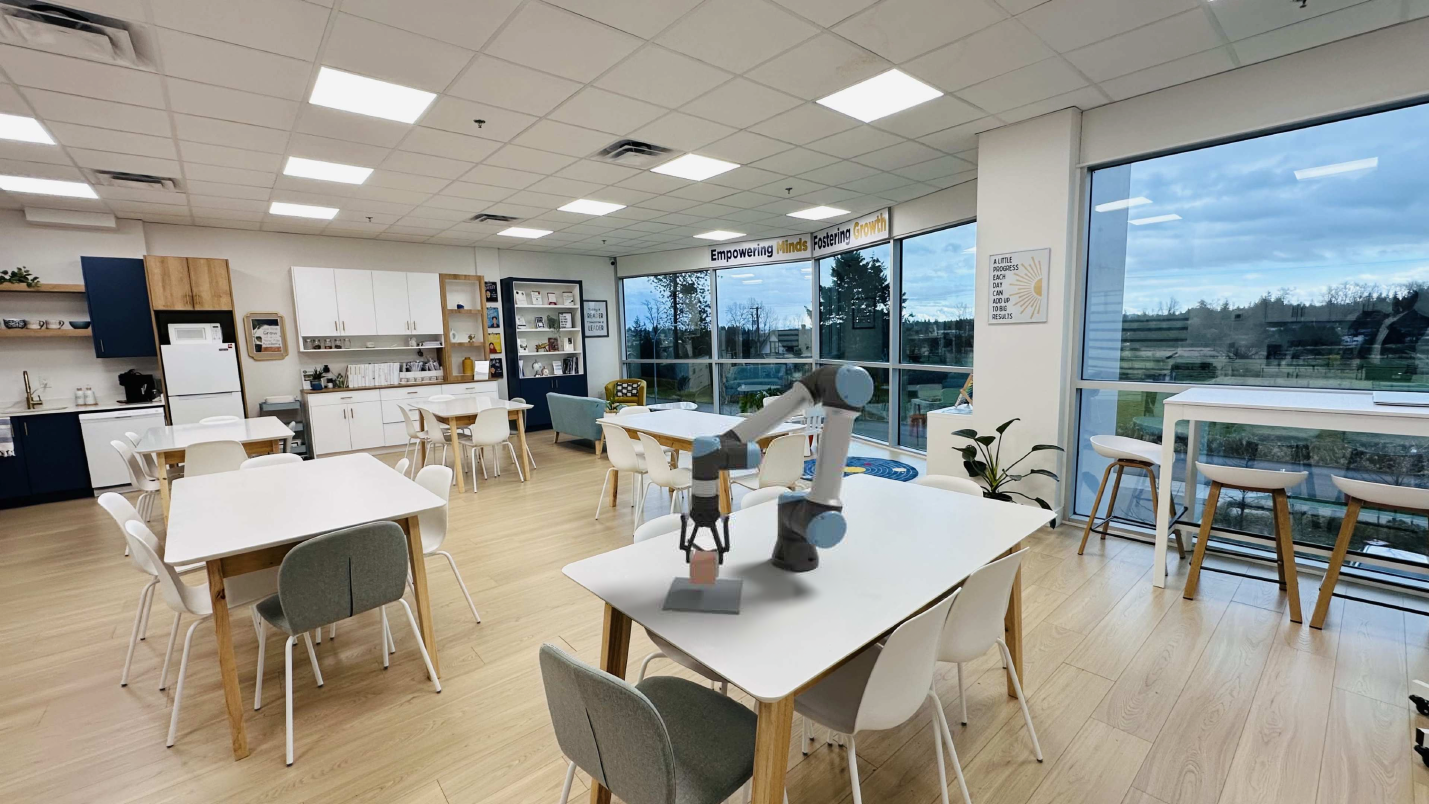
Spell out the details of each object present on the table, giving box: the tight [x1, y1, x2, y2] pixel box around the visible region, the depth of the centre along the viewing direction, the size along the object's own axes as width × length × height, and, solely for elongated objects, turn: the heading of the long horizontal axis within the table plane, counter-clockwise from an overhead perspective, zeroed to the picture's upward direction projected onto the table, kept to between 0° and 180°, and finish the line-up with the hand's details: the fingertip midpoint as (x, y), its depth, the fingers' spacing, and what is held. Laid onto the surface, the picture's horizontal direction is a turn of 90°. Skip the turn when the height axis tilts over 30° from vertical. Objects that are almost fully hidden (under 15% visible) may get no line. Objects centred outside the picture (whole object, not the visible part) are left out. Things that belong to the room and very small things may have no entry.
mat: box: [662, 576, 744, 615], centre depth 155 cm, size 20×20×1 cm
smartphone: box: [687, 535, 725, 552], centre depth 195 cm, size 9×2×16 cm
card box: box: [689, 550, 717, 585], centre depth 154 cm, size 10×6×6 cm, turn 173°
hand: (704, 574), depth 154 cm, fingers closed on card box, 6 cm apart
